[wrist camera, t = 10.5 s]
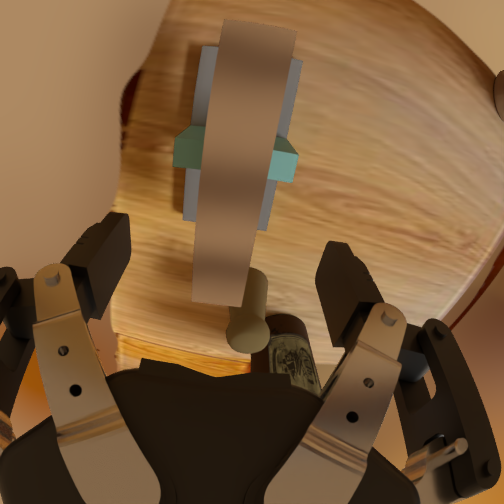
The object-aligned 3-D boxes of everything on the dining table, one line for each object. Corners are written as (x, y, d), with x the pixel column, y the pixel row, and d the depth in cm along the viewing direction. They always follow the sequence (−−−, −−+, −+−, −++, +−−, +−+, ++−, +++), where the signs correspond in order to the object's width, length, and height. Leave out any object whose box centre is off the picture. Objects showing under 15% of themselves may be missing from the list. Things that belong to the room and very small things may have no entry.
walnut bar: (229, 36, 16) (224, 19, 11) (282, 45, 16) (297, 30, 11) (200, 258, 27) (191, 301, 22) (241, 263, 27) (241, 307, 22)
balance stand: (204, 47, 22) (189, 33, 15) (300, 61, 24) (321, 54, 17) (184, 214, 33) (169, 253, 26) (265, 225, 35) (271, 266, 28)
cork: (221, 271, 38) (215, 333, 29) (264, 264, 38) (270, 325, 29) (231, 302, 42) (229, 362, 33) (270, 296, 41) (277, 356, 32)
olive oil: (296, 352, 50) (314, 479, 29) (241, 346, 48) (242, 482, 27) (319, 315, 44) (352, 462, 23) (256, 306, 42) (265, 470, 22)
